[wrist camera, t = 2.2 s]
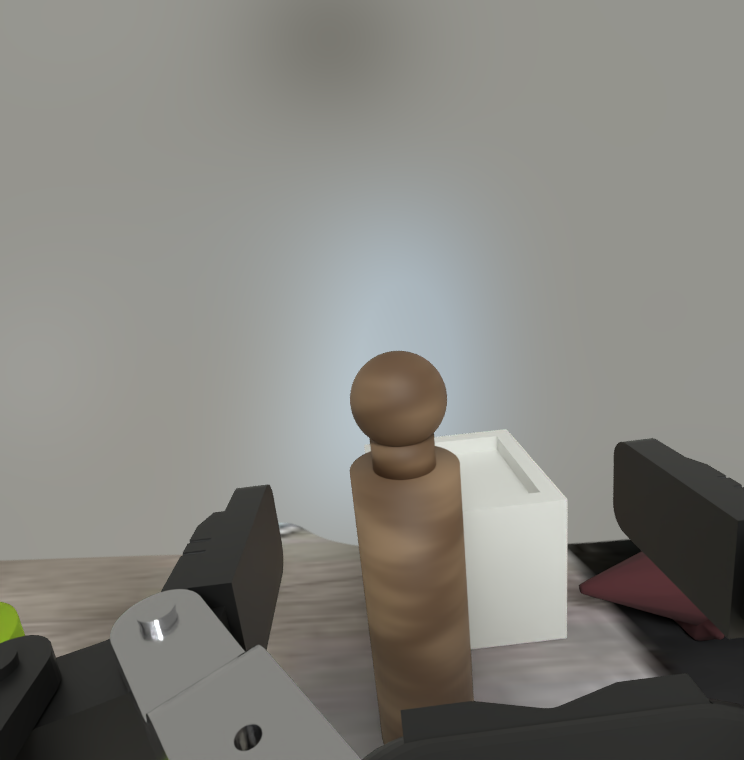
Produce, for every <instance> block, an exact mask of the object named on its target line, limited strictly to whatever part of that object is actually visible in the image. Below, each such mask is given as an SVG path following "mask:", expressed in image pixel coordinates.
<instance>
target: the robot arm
mask: <svg viewBox="0 0 744 760" xmlns="http://www.w3.org/2000/svg"><path fill="white" fill-rule="evenodd" d="M613 489H614V493H613V496H614V497H613V505H614V506H613V507H614V513H615V516H616V519H617V522H618V524H619V526H620V528H621V530H622V531H623V532H624V533H625V534H626V535H627V536H628V537H629V539H630V540H631V541H632V542H633V543H634V544H635V545H636V546H637V547H638V548H639V549H640V550H641V551H642V552H643V553H644V554H645V555H646V556H647V557H648V558H649V559H650V560H651V561H652V562H653V563H654V564H655V565H656V566H657V567H658V568H659V569H660V570H661V571H662V572H663V573H664V574H665V575H666V576H667V577H668V578H669V579H670V580H671V581H672V582H673V583H674V584H675V585H676V586H677V587H678V588H679V589H680V591H681V592H682V593H683V594H684V595H685V596H686V597H687V598H688V599H689V600H690V601H691V602H692V603H693V604H694V605H695V606H696V607H697V608H698V609H699V610H700V611H701V612H702V613H703V614H704V615H705V616H706V617H707V618H708V619H709V620H710V621H711V622H712V623H713V624H714V625H715V626H716V627H717V628H718V629H719V630H720V631H721V632H722V633H723V634H724V635H725V636H726V637H727V638H728V639H734V638H742V637H744V487H743V488H742V485H741V484H739V483H738V482H736V481H734V480H733V479H731V478H726V476H725V475H724V474H722V473H721V472H719V471H717V470H715V469H714V468H712V467H711V466H709V465H707V464H704V463H701V462H698V461H695V460H692V459H689V458H686V457H684V456H683V455H681V454H679V453H678V452H676V451H674V450H673V449H671V448H669V447H668V446H666V445H664V444H663V443H661V442H659V441H658V440H656V439H653V438H651V439H643V440H635V441H627V442H620V443H618V444H617V446H616V447H615V450H614V488H613ZM282 573H283V549H282V542H281V536H280V531H279V525H278V520H277V514H276V509H275V503H274V498H273V493H272V489H271V487H270V485H261V486H253V487H245V488H237V489H236V490H235V491H234V493H233V495H232V497H231V500H230V502H229V504H228V506H227V508H226V510H225V511H223V512H215V513H213V514H212V515H211V516H209V517H208V518H207V519H206V520H205V521H203V522H202V523H201V524H200V525H199V526H198V527H197V528H196V530H195V532H194V534H193V535H192V537H191V539H190V543H189V544H187V546H186V548H185V550H184V552H183V556H181V557H180V559H179V560H178V562H177V564H176V566H175V568H174V569H173V571H172V573H171V575H170V576H169V578H168V580H167V582H166V584H165V585H164V587H163V589H162V591H161V592H160V593H157V594H154V595H152V596H149V597H147V598H145V599H143V600H141V601H139V602H138V603H136V604H135V605H133V606H132V607H130V608H129V609H128V610H126V611H125V612H124V613H123V614H122V615H121V616H120V617H119V618H118V620H117V621H116V622H115V624H114V625H113V627H112V630H111V633H110V639H108V640H106V641H103V642H101V643H98V644H95V645H92V646H90V647H87V648H84V649H81V650H78V651H75V652H72V653H69V654H66V655H63V656H60V657H57V658H56V657H55V654H54V651H53V648H52V645H51V642H50V641H49V640H48V639H47V638H45V637H43V636H39V635H29V636H22V637H17V638H13V639H10V640H7V641H4V642H2V643H0V760H361V759H360V757H359V756H358V755H357V754H356V753H355V752H354V751H353V749H352V748H351V747H350V746H349V745H348V744H347V743H346V741H345V740H344V739H343V738H342V737H341V736H340V734H339V733H338V732H337V731H336V730H335V729H334V728H333V726H332V725H331V724H330V723H329V722H328V721H327V720H326V718H325V717H324V716H323V715H322V714H321V713H320V711H319V710H318V709H317V708H316V707H315V706H314V705H313V703H312V702H311V701H310V700H309V699H308V698H307V697H306V695H305V694H304V693H303V692H302V691H301V690H300V688H299V687H298V686H297V685H296V684H295V683H294V682H293V680H292V679H291V678H290V677H289V676H288V675H287V674H286V672H285V671H284V670H283V669H282V668H281V667H280V665H279V664H278V663H277V662H276V661H275V660H274V659H273V657H272V656H271V655H270V654H269V653H268V652H267V651H266V649H267V644H268V640H269V635H270V630H271V626H272V621H273V616H274V611H275V607H276V602H277V597H278V593H279V588H280V583H281V578H282ZM400 712H401V721H402V730H403V736H402V737H400V738H397V739H395V740H393V741H390V742H388V743H387V744H385V745H383V746H381V747H380V748H378V749H376V750H374V751H373V752H371V753H370V754H369V755H367V756H366V757H365V758H363V759H362V760H744V706H743V705H740V704H736V703H731V702H726V701H721V700H716V699H707V698H706V696H705V695H704V694H703V693H702V691H701V690H700V689H699V688H698V686H697V685H696V684H695V683H694V681H693V680H692V679H691V678H690V676H689V675H688V674H687V673H685V674H677V675H669V676H661V677H654V678H646V679H638V680H630V681H623V682H616V683H614V684H611V685H609V686H607V687H604V688H602V689H599V690H597V691H595V692H592V693H590V694H587V695H585V696H583V697H580V698H578V699H575V700H573V701H571V702H568V703H566V704H563V705H561V706H558V707H555V708H535V707H525V706H515V705H505V704H496V703H486V702H476V701H467V702H460V703H452V704H444V705H436V706H428V707H421V708H413V709H405V710H400Z"/></svg>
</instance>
